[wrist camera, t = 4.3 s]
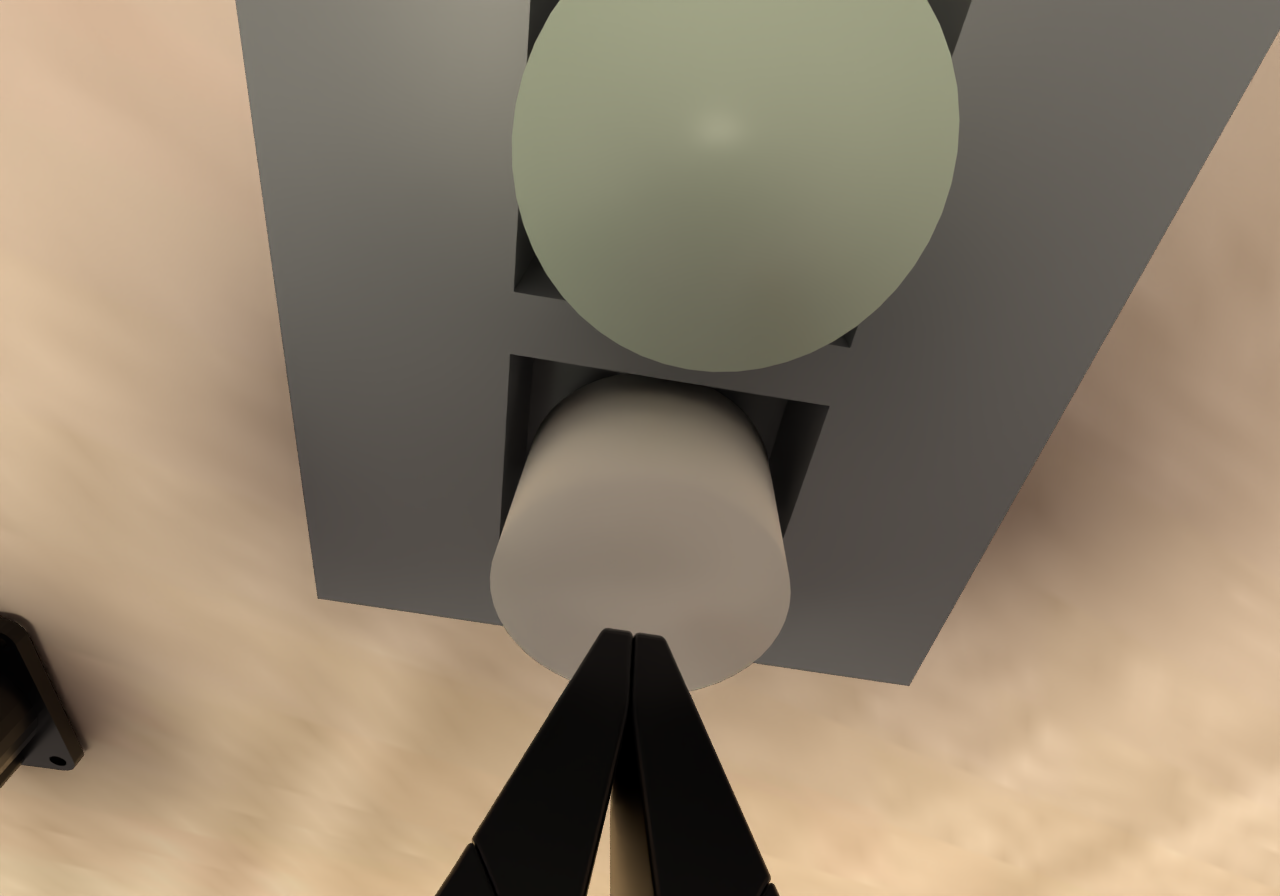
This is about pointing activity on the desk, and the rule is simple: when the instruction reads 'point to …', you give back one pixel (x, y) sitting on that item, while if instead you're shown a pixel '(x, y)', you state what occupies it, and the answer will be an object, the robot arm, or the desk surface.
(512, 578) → the button ivory
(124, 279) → the desk surface
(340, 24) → the grey compartment tray
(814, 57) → the button sage
